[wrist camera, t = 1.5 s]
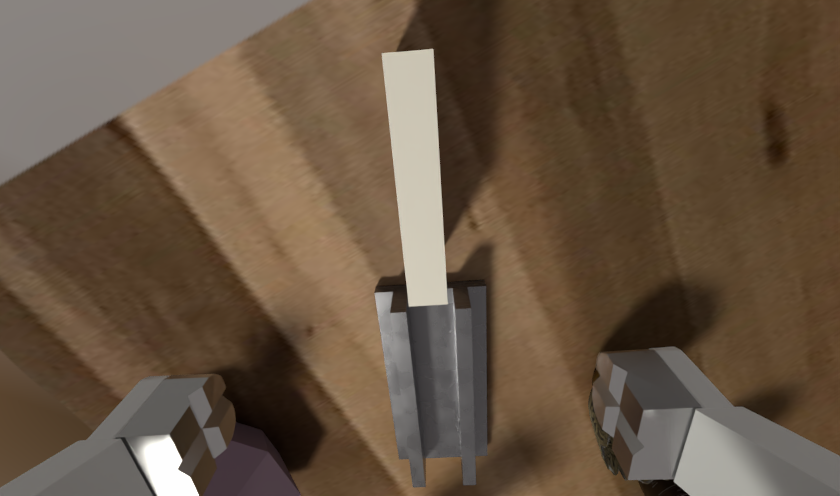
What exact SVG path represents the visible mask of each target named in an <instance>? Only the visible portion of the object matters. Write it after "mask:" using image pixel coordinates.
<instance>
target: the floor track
mask: <svg viewBox="0 0 840 496" xmlns="http://www.w3.org/2000/svg"><path fill="white" fill-rule="evenodd" d="M375 299H376V306H377V313H378V319H379V326H380V333H381V340H382V346H383V353H384V360H385V366H386V373H387V380H388V387H389V393H390V400H391V407H392V414H393V420H394V427H395V434H396V441H397V447H398V454H399V459H409V461H410V468H411V476H412V483H413V487H426V458H441V457H461V465H462V476H463V485H476V466H475V456H487V348H486V284H485V280H473V281H456V282H447V299H448V304H445V305H428V306H412V307H409V304H408V294H407V285H392V286H376V289H375Z"/></svg>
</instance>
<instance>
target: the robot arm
mask: <svg viewBox="0 0 840 496" xmlns="http://www.w3.org/2000/svg"><path fill="white" fill-rule="evenodd" d="M596 368H597V370H598V372H599V374H600V375H601V376H600V377H599V378H598V379H597V380H596V381H595V382H594V383H593V390H592V400H593V407H594V411H595V414H596V417H597V420H598V422H599V424H600V426H601V428H602V430H604V431H605V432H606V433H608V434H609V435H610V436H612V437H613V438H614V439H613V445H612V450H613V452H614V454H615V456H616V458H617V460H618V462H619V464H620V466H621V468H622V470H623V472H624V474H625V476H626V478H627V480H656V479H674V482H675V483H676V484H677V485H678V486H679V487H681V488H682V489H683V490H684V491H685V492H686V493H688V494H689V495H690V496H840V456H839V455H837V454H835V453H833V452H831V451H829V450H827V449H825V448H823V447H821V446H819V445H817V444H815V443H813V442H811V441H809V440H807V439H805V438H803V437H801V436H799V435H797V434H795V433H793V432H792V431H790V430H788V429H786V428H784V427H782V426H780V425H778V424H776V423H774V422H772V421H770V420H768V419H766V418H764V417H762V416H760V415H758V414H756V413H754V412H752V411H750V410H748V409H746V408H744V407H734V406H733V405H732V404H731V403H730V402H729V401H728V400H727V399H726V398H725V397H724V395H723V394H722V393H721V392H720V391H719V390H718V389H717V388H716V387H715V386H714V385H713V384H712V383H711V382H710V380H709V379H708V378H707V377H706V376H705V375H704V374H703V373H702V372H701V371H700V370H699V369H698V368H697V367H696V365H695V364H694V363H693V362H692V361H691V360H690V359H689V358H688V357H687V356H686V355H685V354H684V353H683V352H682V350H680V349H678V348H676V347H662V348H649V349H639V350H624V351H608V352H600V353H599V355H598V357H597V361H596ZM225 389H226V386H225V383H224V381H223V379H222V376H220V375H217V374H194V375H171V376H149V377H147V378H145V379H142V380H140V382H139V383H138V384H137V385H136V386H135V387H134V388H133V389H132V390H131V392H130V393H129V394H128V395H127V396H126V397H125V398H124V399H123V400H122V401H121V403H120V404H119V405H118V406H117V407H116V408H115V409H114V410H113V411H112V413H111V414H110V415H109V416H108V417H107V418H106V419H105V420H104V421H103V422H102V424H101V425H100V426H99V427H98V428H97V429H96V430H95V431H94V432H93V433H92V435H91V436H90V437H89V438H88V439H87V440H84V441H77V442H76V443H74V444H72V445H71V446H69V447H67V448H66V449H64V450H63V451H61V452H59V453H57V454H56V455H54V456H52V457H51V458H49V459H48V460H46V461H44V462H43V463H41V464H39V465H38V466H36V467H34V468H32V469H31V470H29V471H27V472H26V473H24V474H23V475H21V476H19V477H18V478H16V479H14V480H12V481H11V482H9V483H7V484H6V485H4V486H2V487H1V488H0V496H203V494H204V492H205V490H206V489H207V487H208V485H209V483H210V481H211V479H212V477H213V475H214V473H215V471H216V469H217V465H216V461H215V458H216V457H217V456H218V455H220V454H221V453H222V452H223V451H224V450H226V449H227V447H228V445H229V443H230V441H231V439H232V437H233V433H234V428H235V423H236V418H235V410H234V407H233V404H232V402H230V401H229V400H228V399H226V398H225V397H224V396H222V395H223V393H224V391H225Z"/></svg>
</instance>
